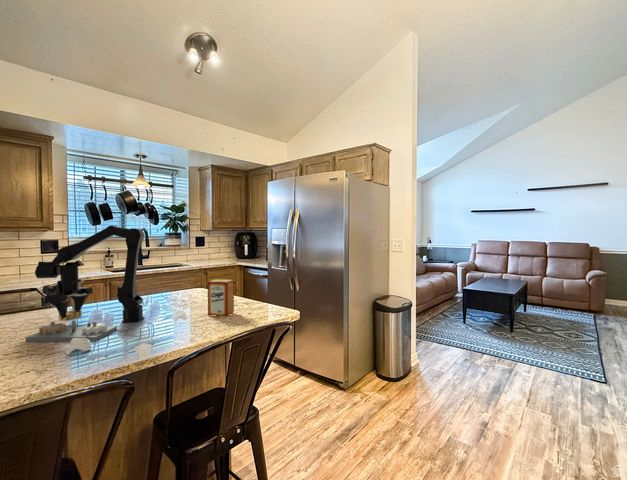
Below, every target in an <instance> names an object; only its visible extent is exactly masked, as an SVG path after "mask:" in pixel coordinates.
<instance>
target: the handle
mask: <svg viewBox="0 0 627 480" xmlns="http://www.w3.org/2000/svg"><path fill="white" fill-rule="evenodd" d="M80 279H81V282H78V283H79V287H82V285H81V284H83V283H84V282H85V278H80ZM70 302H71V303H70V304H71V308H72V309H71V310H75V305H74V300H73V299H72V298H71V297H70Z"/></svg>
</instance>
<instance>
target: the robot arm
mask: <svg viewBox="0 0 627 480" xmlns="http://www.w3.org/2000/svg"><path fill="white" fill-rule="evenodd" d="M114 236H116V237H118V238H123V239H125V243H126V248H127V253H126V261H125V269H124V276H123V283H122V284H121V285H118V286H117V293H116V296H115V297H116V298H117V301H118V303H120V304H121V305H122V306H123V310H122V320H121V323H138V322H140V321H142V320H144V319H145V318H146V317H145V316H144V315H143V314H144V313H143V312H144V311H143V310H144V309H143V305H142V303H143V301H144V298H143V297H141V296H140V295H139V294H138V287H137V284H136V282H137V281H136V279H137V269H138V263H139V262H138V261H139V253H140V249H141V247H142V244H143V241H144V238H145V231H143V230H142V229H141V228H139V227H138V228H135V227H133V228H126V227H121V226H118V225H108V226H107V227H105V228H104V229H102V230H100V231H98V232H95V233H94V234H93V235H91V236H89V237H87V238H85V239H83V240H81V241H79V242H78V241H77V242H76V243H73V244H69V245H67V246H63V247H61V248H59V249H58V250H57V254H56V256H55V257H54V259H52V260H51V261H44V260H41V261H38V264H37V266H36V268H35V270H34V275H35V277H36V279H39V280H40V279H56V278H58V277H59V276H60V279H59V280H57V281H56V284H55V285H51V284H45V285H43V286H42V293H43V294H44V295H45V296H44V297H43V303H44V304H49V305H53V306H54V307H55V308H56V310H57V313H58V315H59V314H60V316H61V318H65V316H66V313H67V311H68V308H69V305H70V300H68V298H70V299H71V298H72V299H73V300H74V305H75V310H81V311H82V308H83V305H84V304H85V302H86V300H87V298H88V297H89V296H90V295H91V294H94V292H93V288H92V287H91V286H81V287H79V283H78V282H81V279H82V278H79V267H83V266H85V263H83V262H82V261H81V260H79V258H80V257H81V256H83V255H84V254H85V253H86V252H87V251H88V250H90V249H92V248H94V247H95V246H97V245H99V244H100V243H103V242H104V241H106V240H108V239H110V238H112V237H114Z"/></svg>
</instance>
